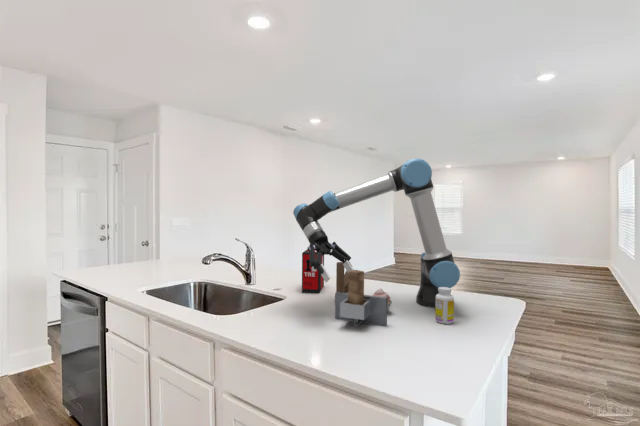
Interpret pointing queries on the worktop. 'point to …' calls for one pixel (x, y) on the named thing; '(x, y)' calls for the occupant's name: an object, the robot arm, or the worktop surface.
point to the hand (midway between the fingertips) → (341, 277)
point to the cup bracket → (361, 309)
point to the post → (356, 287)
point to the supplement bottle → (444, 306)
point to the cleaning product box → (311, 275)
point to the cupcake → (383, 294)
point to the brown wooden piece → (341, 278)
